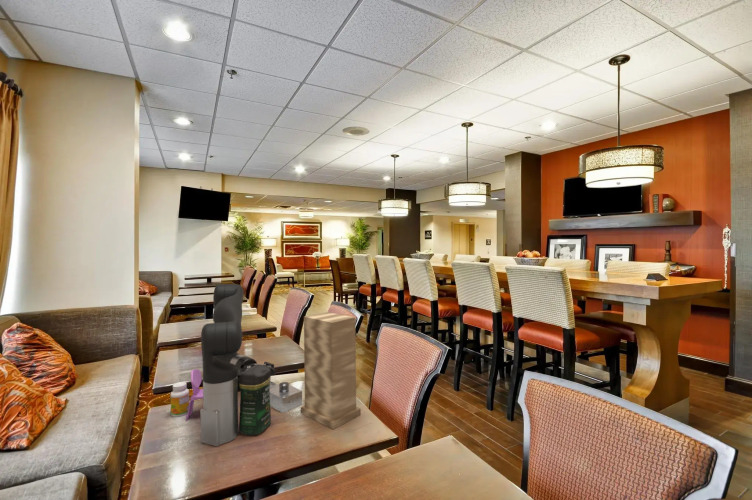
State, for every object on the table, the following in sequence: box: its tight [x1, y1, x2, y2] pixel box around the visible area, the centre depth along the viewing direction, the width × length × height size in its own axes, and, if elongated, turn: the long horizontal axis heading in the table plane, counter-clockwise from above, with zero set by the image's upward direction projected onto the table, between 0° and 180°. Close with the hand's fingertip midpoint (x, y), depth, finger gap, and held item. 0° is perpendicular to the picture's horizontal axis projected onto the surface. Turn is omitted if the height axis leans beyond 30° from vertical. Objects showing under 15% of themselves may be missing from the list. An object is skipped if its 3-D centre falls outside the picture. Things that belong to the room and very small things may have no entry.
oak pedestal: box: [300, 311, 362, 430], centre depth 115 cm, size 16×12×32 cm
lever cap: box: [270, 380, 303, 414], centre depth 126 cm, size 23×8×7 cm, turn 49°
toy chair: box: [185, 368, 203, 422], centre depth 115 cm, size 8×9×15 cm
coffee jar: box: [238, 363, 272, 436], centre depth 106 cm, size 10×8×19 cm
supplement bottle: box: [170, 381, 190, 418], centre depth 116 cm, size 5×5×10 cm
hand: (264, 375), depth 130 cm, fingers open, 8 cm apart
